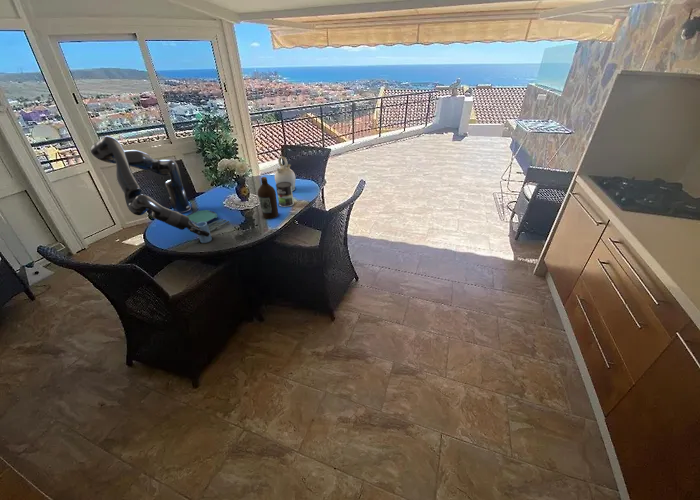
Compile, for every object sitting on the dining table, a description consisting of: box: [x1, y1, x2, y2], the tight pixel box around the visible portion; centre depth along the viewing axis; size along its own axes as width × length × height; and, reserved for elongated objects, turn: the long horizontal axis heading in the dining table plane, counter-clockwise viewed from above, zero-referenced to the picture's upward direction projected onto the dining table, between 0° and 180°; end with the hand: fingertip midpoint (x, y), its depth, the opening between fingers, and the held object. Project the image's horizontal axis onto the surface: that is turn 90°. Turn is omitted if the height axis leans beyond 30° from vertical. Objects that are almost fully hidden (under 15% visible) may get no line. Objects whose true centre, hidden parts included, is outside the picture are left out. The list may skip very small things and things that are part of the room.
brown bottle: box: [257, 176, 279, 220], centre depth 179 cm, size 11×11×25 cm
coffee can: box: [275, 182, 295, 208], centre depth 197 cm, size 10×10×14 cm
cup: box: [195, 222, 213, 244], centre depth 160 cm, size 6×6×10 cm
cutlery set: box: [186, 209, 230, 232], centre depth 180 cm, size 20×30×2 cm, turn 53°
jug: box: [274, 155, 297, 192], centre depth 216 cm, size 15×16×25 cm
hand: (206, 232), depth 161 cm, fingers open, 7 cm apart
